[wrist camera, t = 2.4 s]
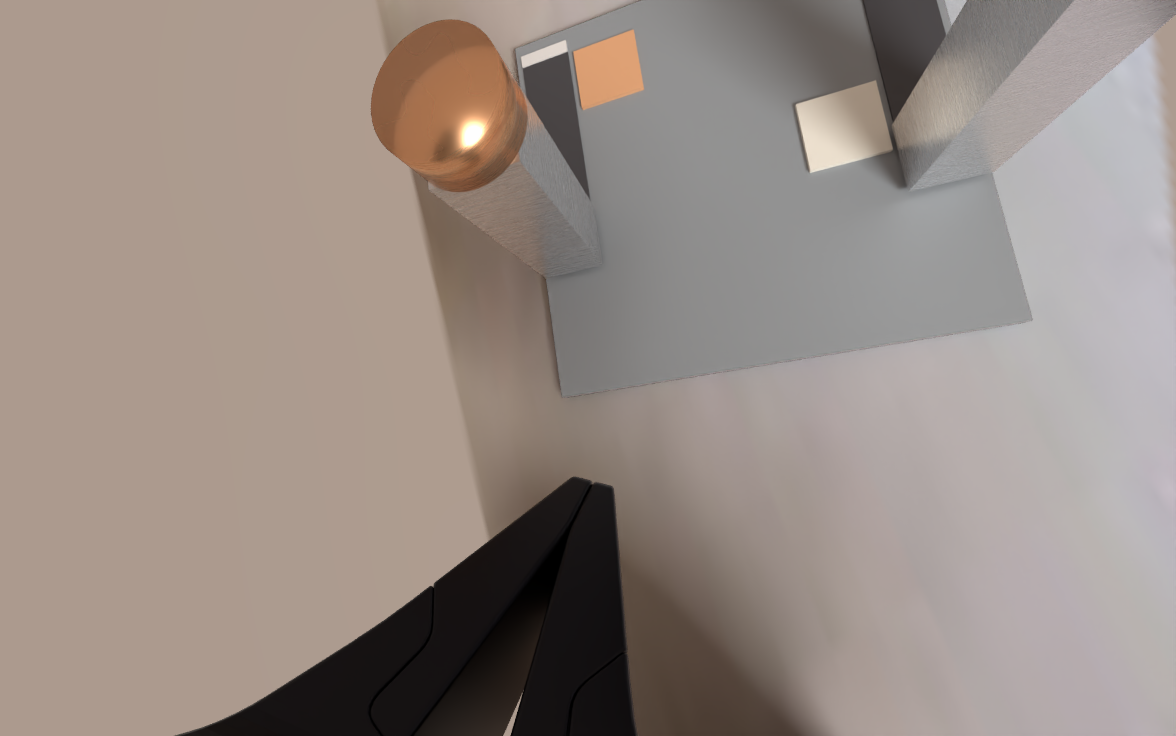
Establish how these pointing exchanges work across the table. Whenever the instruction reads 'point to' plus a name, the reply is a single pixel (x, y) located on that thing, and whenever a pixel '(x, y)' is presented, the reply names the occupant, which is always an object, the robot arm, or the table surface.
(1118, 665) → the table surface
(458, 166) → the lever
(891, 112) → the switch board
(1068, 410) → the table surface
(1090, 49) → the lever
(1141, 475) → the table surface
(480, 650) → the robot arm
